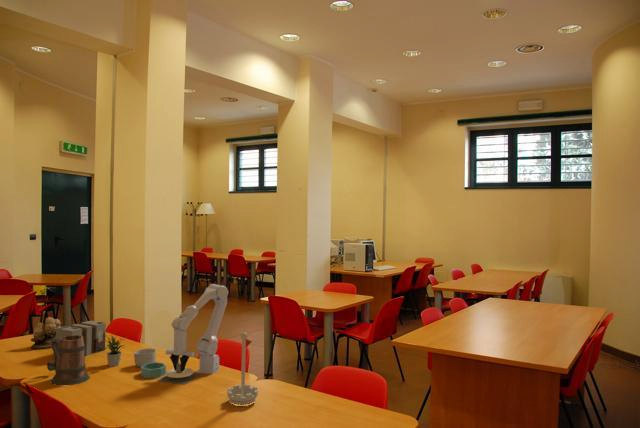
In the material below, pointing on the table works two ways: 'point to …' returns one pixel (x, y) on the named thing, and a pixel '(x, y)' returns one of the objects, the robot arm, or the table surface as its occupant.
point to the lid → (179, 372)
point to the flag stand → (243, 382)
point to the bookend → (86, 335)
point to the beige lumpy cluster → (45, 334)
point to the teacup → (144, 356)
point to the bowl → (153, 370)
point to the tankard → (68, 361)
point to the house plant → (113, 351)
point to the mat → (179, 379)
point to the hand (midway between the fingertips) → (179, 370)
